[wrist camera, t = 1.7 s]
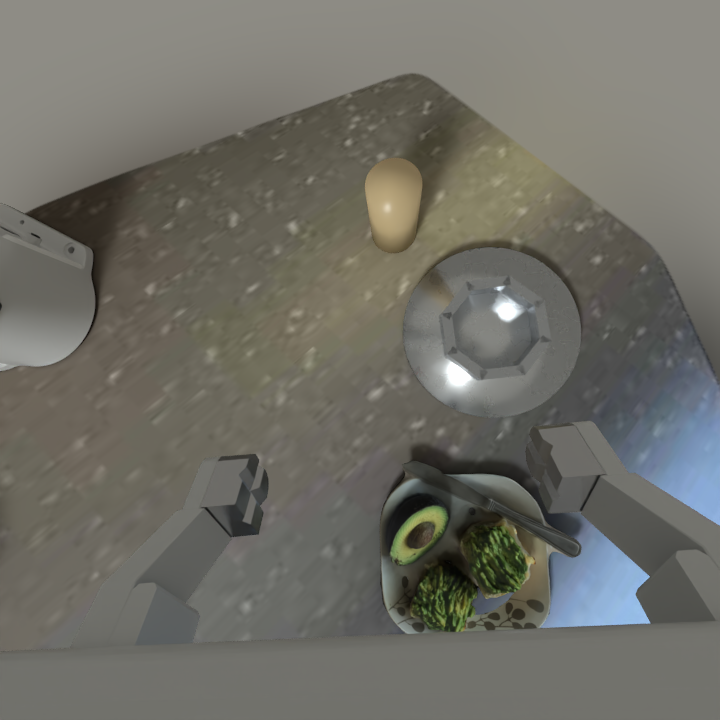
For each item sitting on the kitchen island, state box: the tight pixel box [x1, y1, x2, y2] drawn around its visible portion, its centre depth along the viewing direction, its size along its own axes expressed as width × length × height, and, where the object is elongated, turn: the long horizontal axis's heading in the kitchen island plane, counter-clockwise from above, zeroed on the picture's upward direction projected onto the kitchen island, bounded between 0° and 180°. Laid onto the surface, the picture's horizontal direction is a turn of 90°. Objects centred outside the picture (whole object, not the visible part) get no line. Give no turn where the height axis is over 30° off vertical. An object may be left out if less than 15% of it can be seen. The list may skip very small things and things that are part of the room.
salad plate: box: [380, 461, 581, 634], centre depth 33 cm, size 19×18×5 cm
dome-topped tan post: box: [365, 158, 423, 253], centre depth 34 cm, size 5×5×9 cm
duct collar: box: [403, 247, 581, 418], centre depth 35 cm, size 18×18×3 cm
